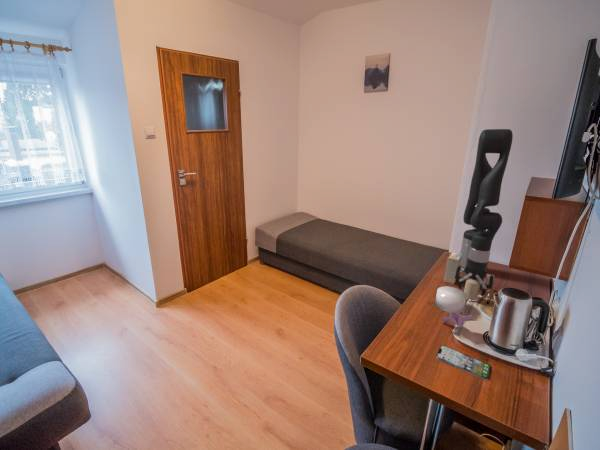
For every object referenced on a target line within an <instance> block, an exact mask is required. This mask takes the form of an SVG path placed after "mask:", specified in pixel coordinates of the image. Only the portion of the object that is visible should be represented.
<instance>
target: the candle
mask: <svg viewBox="0 0 600 450" xmlns="http://www.w3.org/2000/svg"><path fill="white" fill-rule="evenodd" d="M480 288H481V284H480V282H479V281H477V280H473V279H471V278H467V279H465V285H464V289H463V292H464V293H465V294H466V296H467V298H466V301H468V300H469V299H471V300H476V299H477V300H478V297H479V293H480ZM477 300H476V301H477Z"/></svg>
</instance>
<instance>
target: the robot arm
mask: <svg viewBox="0 0 600 450" xmlns="http://www.w3.org/2000/svg"><path fill="white" fill-rule="evenodd" d="M513 137H514V136H513V131H512V130H511V129H510V128H508V129H507V128H499V129H498V128H493V129H492V128H491V129H490V128H489V129H488V128H487V129H483V130H482V131H480V135H479V137H478V142H477V143H478V144H477V150H476V159H475V163H474V169H473V174H472V177H471V182H470V187H469V194H468V198H467V202H466V206H465V209H464V213H463V223H464V224H465V225H467V226H468V225H469V226H471V227H472V229H467V230H465V231H464V232H463V236H462V240H461V241H462V242H461V246H460V252H459V254H462V257H461V263H460V265H459V266H458V267H457V271H456V275H455V279H457V280H458V289H459V290H463V286H464V282H465V281H466V279H467V278H471V279H473V280H477V281H479V282H480V286H481V287H482V289H481V293H480V296H481V297H483V296H486V293H487V290H491V289H492V288H493V287H494V282H495V281H494V280H495V276H496V275H495V274H494V273H492V274H490V273H487V270H488V265H489V260H490V256H491V248H492V244H493V241H494V238H495V236H496V235H497V233H498V231H499V230H500V228H501V227H502V223H503V217H502V215H501V214H500V213H499V212H494V211H491V210H490V209H489V208H488V207H495V206H498V205H499V203H500V197H501V191H502V190H501V189H502V182H503V179H504V175H505V172H506V168H507V164H508V161H509V156H510V152H511V149H512V143H513ZM487 154H499V156H498V159H497V161H496V163H495V165H493V167H492V166H491V164H490V163H489V160H488V157H487ZM461 272H464V273H465V274H464V275H462V276H460V275H461ZM485 278H487V279H488V280H489V281H488V284H487V282H486V279H485Z"/></svg>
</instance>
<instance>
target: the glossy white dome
mask: <svg viewBox="0 0 600 450" xmlns="http://www.w3.org/2000/svg"><path fill="white" fill-rule="evenodd" d="M436 289H437V290H436V294H435V295H436V296H435V301H434V302H435V303H434V305H435V306H436V308H437V309H439V310H441V311H443V312H444V313H448V314H450V313H451V312H452V311H455V312H457V313H459V314H462V313H463V312H464V311H463V310H465V307H466V302H467V300H466V298H467V296H466V294H465V293H464V290H462V289H459V288H456V287H453V286H447V285H446V286H440V287H438V288H436ZM462 311H463V312H462ZM461 312H462V313H461Z"/></svg>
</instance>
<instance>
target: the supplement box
mask: <svg viewBox="0 0 600 450" xmlns="http://www.w3.org/2000/svg"><path fill="white" fill-rule="evenodd" d="M461 257H462V254H460V252H459V253H457V252H453V251H452V252H451V253H450V254H449V256H448V257H447V262H446V268H445V274H444V279H443V283H446V284H449V285H453V286H454V285H455V283H456V281H457V280H458V279H455V275H456V271H457V267H458V266H459V265H460V263H461Z"/></svg>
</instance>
